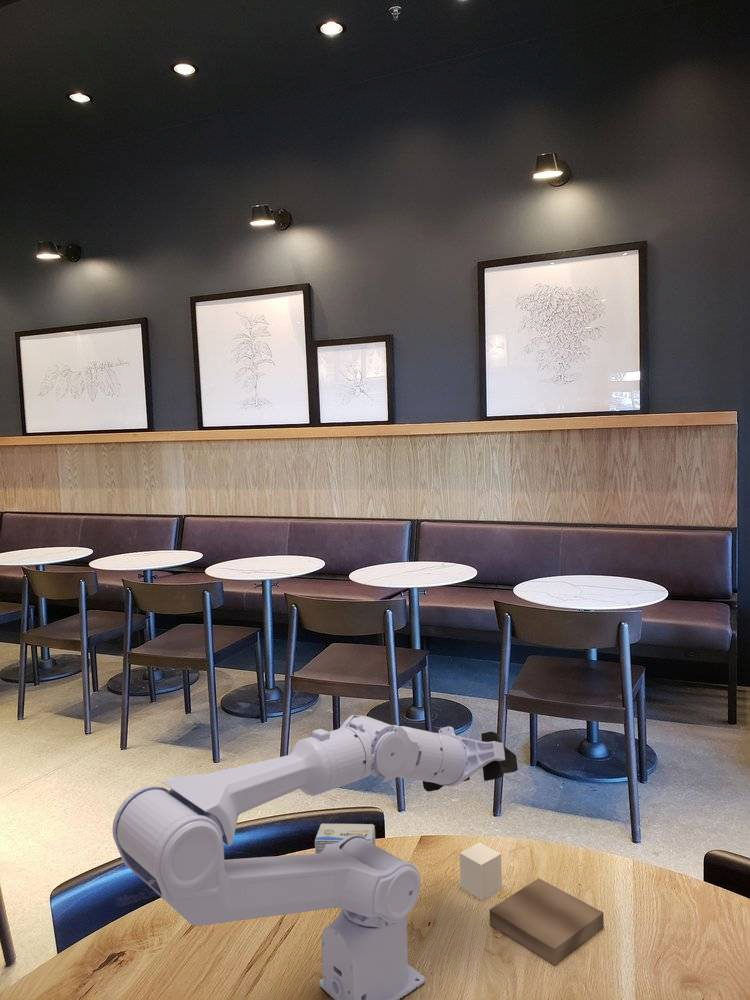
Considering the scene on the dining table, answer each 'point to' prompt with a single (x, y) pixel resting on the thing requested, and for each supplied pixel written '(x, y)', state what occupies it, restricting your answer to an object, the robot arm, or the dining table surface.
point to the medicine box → (341, 834)
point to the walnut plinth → (546, 920)
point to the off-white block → (480, 871)
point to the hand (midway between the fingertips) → (490, 767)
